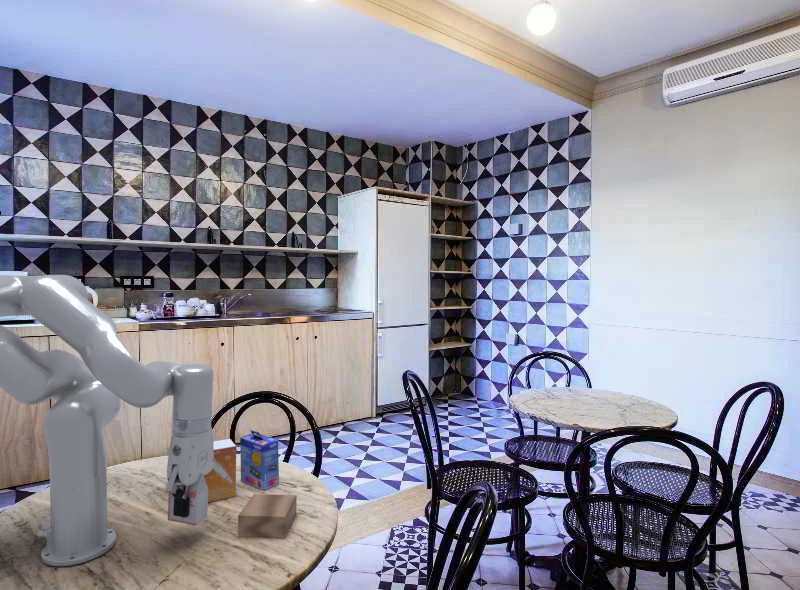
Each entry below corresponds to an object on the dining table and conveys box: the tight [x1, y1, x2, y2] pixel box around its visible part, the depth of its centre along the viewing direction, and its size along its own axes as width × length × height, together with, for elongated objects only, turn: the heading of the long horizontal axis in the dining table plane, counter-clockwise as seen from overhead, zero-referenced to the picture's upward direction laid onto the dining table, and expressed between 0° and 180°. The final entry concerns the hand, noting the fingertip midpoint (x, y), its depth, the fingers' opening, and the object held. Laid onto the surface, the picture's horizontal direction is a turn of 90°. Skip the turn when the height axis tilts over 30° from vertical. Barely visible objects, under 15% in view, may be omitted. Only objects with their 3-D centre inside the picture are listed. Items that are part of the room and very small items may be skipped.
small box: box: [205, 438, 237, 503], centre depth 122 cm, size 8×6×13 cm
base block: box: [237, 493, 298, 540], centre depth 108 cm, size 10×10×5 cm
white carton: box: [167, 474, 209, 526], centre depth 102 cm, size 4×7×10 cm, turn 77°
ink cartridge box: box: [239, 429, 280, 491], centre depth 130 cm, size 10×6×14 cm, turn 54°
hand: (188, 509), depth 102 cm, fingers closed on white carton, 3 cm apart
